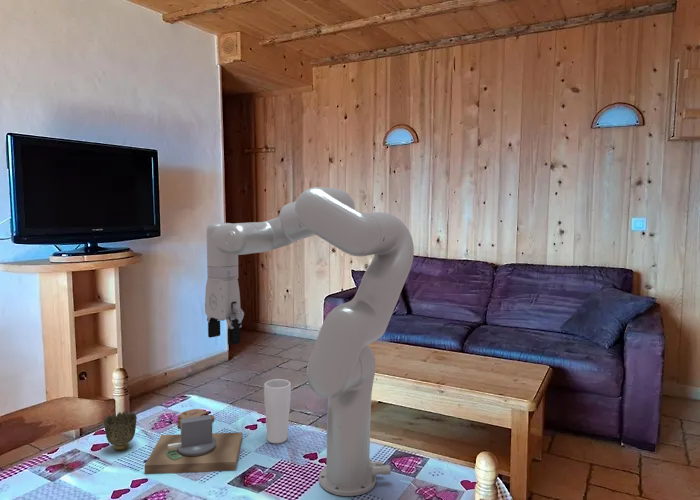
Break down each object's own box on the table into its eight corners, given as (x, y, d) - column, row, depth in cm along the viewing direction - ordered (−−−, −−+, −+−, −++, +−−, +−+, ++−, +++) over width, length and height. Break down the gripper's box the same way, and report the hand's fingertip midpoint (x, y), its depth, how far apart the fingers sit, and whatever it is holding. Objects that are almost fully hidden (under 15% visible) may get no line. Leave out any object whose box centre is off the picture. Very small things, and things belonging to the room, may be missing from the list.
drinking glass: (277, 448, 127) (277, 390, 126) (258, 440, 131) (258, 383, 130) (295, 438, 132) (296, 382, 131) (277, 431, 137) (277, 377, 135)
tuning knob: (212, 435, 128) (212, 409, 128) (218, 452, 120) (218, 423, 120) (166, 443, 124) (166, 415, 123) (169, 460, 116) (169, 431, 115)
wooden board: (241, 439, 131) (242, 431, 131) (235, 470, 116) (235, 461, 116) (161, 442, 129) (161, 434, 129) (144, 473, 114) (144, 464, 114)
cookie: (199, 412, 148) (199, 402, 148) (220, 423, 141) (220, 413, 141) (167, 423, 141) (167, 413, 140) (188, 435, 134) (188, 424, 134)
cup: (137, 453, 123) (136, 421, 123) (103, 458, 121) (102, 425, 120) (137, 439, 130) (137, 409, 130) (105, 444, 128) (104, 413, 127)
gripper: (192, 270, 130) (194, 336, 132) (227, 277, 118) (228, 350, 119) (219, 268, 136) (220, 331, 137) (255, 274, 123) (255, 344, 125)
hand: (224, 340), depth 128 cm, fingers open, 9 cm apart
